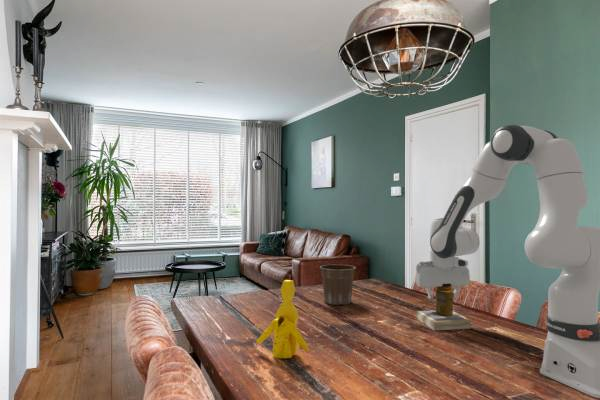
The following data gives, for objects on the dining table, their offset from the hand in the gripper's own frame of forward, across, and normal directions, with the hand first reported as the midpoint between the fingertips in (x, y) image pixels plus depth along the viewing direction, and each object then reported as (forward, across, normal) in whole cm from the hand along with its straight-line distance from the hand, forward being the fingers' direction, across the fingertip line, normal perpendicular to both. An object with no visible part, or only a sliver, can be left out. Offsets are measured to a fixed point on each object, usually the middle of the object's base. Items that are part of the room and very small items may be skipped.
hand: (442, 297), depth 150 cm
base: (+10, 0, 0) cm, 10 cm away
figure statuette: (+10, -62, -21) cm, 66 cm away
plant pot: (+10, -31, +37) cm, 49 cm away
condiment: (+6, 0, 0) cm, 6 cm away
